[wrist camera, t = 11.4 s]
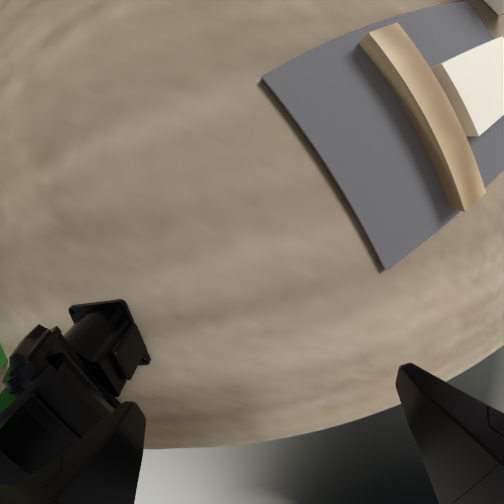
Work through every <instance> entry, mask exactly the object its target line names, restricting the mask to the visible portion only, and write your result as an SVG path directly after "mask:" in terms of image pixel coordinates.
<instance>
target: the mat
mask: <svg viewBox="0 0 504 504" xmlns="http://www.w3.org/2000/svg"><path fill="white" fill-rule="evenodd" d="M394 23H398V24H399V25H400V26H401V28H402V29H403V30H404V31H405V33H406V34H407V35H408V37H409V38H410V39H411V41H412V42H413V43H414V45H415V46H416V47H417V49H418V50H419V52H420V53H421V55H422V56H423V58H424V59H425V61H426V62H427V64H428V65H429V67H430V68H431V67H433V66H435V65H437V64H439V63H441V62H443V61H445V60H447V59H449V58H451V57H454V56H456V55H458V54H460V53H462V52H464V51H466V50H469V49H471V48H473V47H475V46H478V45H480V44H482V43H485V42H487V41H490V40H492V39H494V38H493V37H492V35H491V33H490V32H489V30H488V29H487V27H486V26H485V24H484V23H483V21H482V20H481V18H480V17H479V15H478V14H477V12H476V11H475V10H474V8H473V7H472V6H471V4H470V3H469V2H468V1H461V2H455V3H449V4H443V5H438V6H433V7H429V8H424V9H420V10H416V11H412V12H409V13H405V14H402V15H398V16H395V17H392V18H388V19H385V20H382V21H379V22H376V23H374V24H371V25H368V26H365V27H363V28H360V29H357V30H355V31H352V32H350V33H347V34H345V35H343V36H340V37H338V38H336V39H333V40H331V41H329V42H327V43H324V44H322V45H320V46H318V47H316V48H314V49H312V50H310V51H308V52H306V53H304V54H302V55H300V56H298V57H296V58H294V59H292V60H290V61H288V62H287V63H285V64H283V65H281V66H279V67H278V68H276V69H274V70H272V71H271V72H269V73H267V74H265V75H264V76H262V80H263V81H264V82H265V84H266V85H267V86H268V87H269V89H270V90H271V91H272V92H273V94H274V95H275V96H276V97H277V99H278V100H279V101H280V103H281V104H282V105H283V106H284V108H285V109H286V110H287V112H288V113H289V114H290V116H291V117H292V118H293V120H294V121H295V122H296V124H297V125H298V127H299V128H300V129H301V131H302V132H303V134H304V135H305V136H306V138H307V139H308V141H309V142H310V144H311V145H312V146H313V148H314V149H315V151H316V152H317V154H318V155H319V157H320V158H321V160H322V161H323V163H324V164H325V166H326V168H327V169H328V171H329V172H330V174H331V175H332V177H333V179H334V180H335V182H336V183H337V185H338V187H339V188H340V190H341V192H342V193H343V195H344V197H345V198H346V200H347V202H348V203H349V205H350V207H351V209H352V210H353V212H354V214H355V216H356V217H357V219H358V221H359V223H360V224H361V226H362V228H363V230H364V232H365V234H366V236H367V237H368V239H369V241H370V243H371V245H372V247H373V249H374V251H375V253H376V255H377V257H378V259H379V261H380V263H381V265H382V267H383V269H385V270H388V269H389V268H390V267H392V266H393V265H394V264H396V263H397V262H398V261H400V260H401V259H402V258H404V257H405V256H406V255H408V254H409V253H410V252H412V251H413V250H414V249H415V248H417V247H418V246H419V245H420V244H422V243H423V242H424V241H425V240H427V239H428V238H429V237H430V236H432V235H433V234H434V233H435V232H436V231H438V230H439V229H440V228H441V227H442V226H444V225H445V224H446V223H447V222H448V221H450V220H451V219H452V218H453V217H454V216H455V215H456V214H458V213H459V212H460V211H461V210H458V209H455V208H452V207H449V204H448V201H447V198H446V196H445V193H444V190H443V188H442V185H441V183H440V180H439V178H438V176H437V173H436V171H435V169H434V166H433V164H432V162H431V160H430V157H429V155H428V153H427V151H426V149H425V147H424V145H423V143H422V141H421V139H420V137H419V135H418V133H417V131H416V129H415V127H414V126H413V124H412V122H411V120H410V118H409V117H408V115H407V113H406V111H405V110H404V108H403V106H402V105H401V103H400V101H399V100H398V98H397V97H396V95H395V93H394V92H393V90H392V89H391V87H390V86H389V84H388V83H387V81H386V80H385V78H384V77H383V75H382V74H381V73H380V71H379V70H378V68H377V67H376V66H375V64H374V63H373V61H372V60H371V59H370V57H369V56H368V55H367V54H366V52H365V51H364V50H363V48H362V47H361V46H360V45H359V44H358V43H359V42H360V41H361V40H362V39H363V38H364V37H365V36H366V35H367V34H368V33H369V32H372V31H374V30H377V29H380V28H382V27H385V26H388V25H391V24H394ZM466 137H467V140H468V142H469V145H470V147H471V150H472V152H473V155H474V158H475V160H476V163H477V166H478V169H479V172H480V175H481V178H482V181H483V184H484V188H486V187H487V186H488V185H489V184H490V183H491V182H492V181H493V180H494V179H495V178H496V177H497V176H498V175H499V174H500V173H501V172H502V171H503V170H504V115H503V116H502V117H501V118H499V119H498V120H497V121H496V122H495V123H494V124H493V125H492V126H490V127H489V128H488V129H487V130H486V131H485V132H483V133H482V134H481V135H480V136H466Z"/></svg>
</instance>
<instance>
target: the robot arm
mask: <svg viewBox="0 0 504 504" xmlns="http://www.w3.org/2000/svg"><path fill="white" fill-rule="evenodd" d="M119 304H120V305H122V307H123V308H122V307H120V305H119ZM69 313H70V316H71V318H72V320H73V322H74V325H73V326H72V328H71V329H70V330H69V331H68V332H67V333H66V334H65V335H64V336H63V335H62V334H61V333H62V332H61V330H60V329H59V328H58V326H56V327H54V328H52V329H51V330H50V329H48V328H45V327H43V326H41V325H38V326H36V327H35V328H34V329H33V330H32V331H31V332H30V333H29V334H28V335H27V336H26V337H25V338H24V339H23V340H22V341H21V342H20V344H19V345H18V346H17V348H16V349H15V350H14V352H13V353H12V355H11V356H10V357H9V363H10V366H9V368H8V370H7V373H6V375H5V377H4V379H3V384H4V385H5V386H6V388H5V389H4V390H3V391H2V392H1V393H0V504H134V501H135V495H136V488H137V482H138V478H139V472H140V467H141V462H142V456H143V448H144V436H145V426H146V418H145V415H144V414H143V412H142V411H141V409H140V408H139V406H138V405H137V404H136V403H135V402H128V401H126V402H123V403H122V404H121V403H120V402H119V401H118V400H117V399H116V398H115V397H119V395H120V393H121V391H122V389H123V387H124V385H125V383H126V381H127V380H130V379H131V378H132V376H133V374H134V372H135V370H136V368H137V366H138V365H148V364H149V363H150V361H151V358H150V356H149V354H148V352H147V350H146V346H145V344H144V341H143V339H142V337H141V335H140V332H139V330H138V328H137V326H136V324H135V323H134V320H133V318H132V316H131V313H130V311H129V308H128V306H127V304H126V302H125V301H124V300H121V299H119V300H111V301H103V302H95V303H87V304H79V305H72V306H71V307H70V308H69ZM145 359H146V360H145ZM396 389H397V392H398V395H399V398H400V401H401V404H402V407H403V411H404V414H405V417H406V420H407V423H408V426H409V428H410V430H411V433H412V435H413V437H414V439H415V441H416V444H417V447H418V449H419V451H420V453H421V456H422V458H423V461H424V463H425V466H426V469H427V471H428V474H429V476H430V479H431V481H432V484H433V487H434V489H435V492H436V495H437V498H438V500H439V503H440V504H504V413H502V412H500V411H498V410H496V409H494V408H492V407H491V406H489V405H487V404H485V403H483V402H481V401H479V400H478V399H476V398H474V397H472V396H470V395H468V394H467V393H465V392H463V391H461V390H459V389H457V388H456V387H454V386H452V385H450V384H448V383H447V382H445V381H443V380H441V379H439V378H438V377H436V376H434V375H432V374H430V373H429V372H427V371H425V370H423V369H421V368H420V367H418V366H416V365H414V364H412V363H407V364H404V365H401V366H400V367H399V369H398V374H397V379H396Z"/></svg>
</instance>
